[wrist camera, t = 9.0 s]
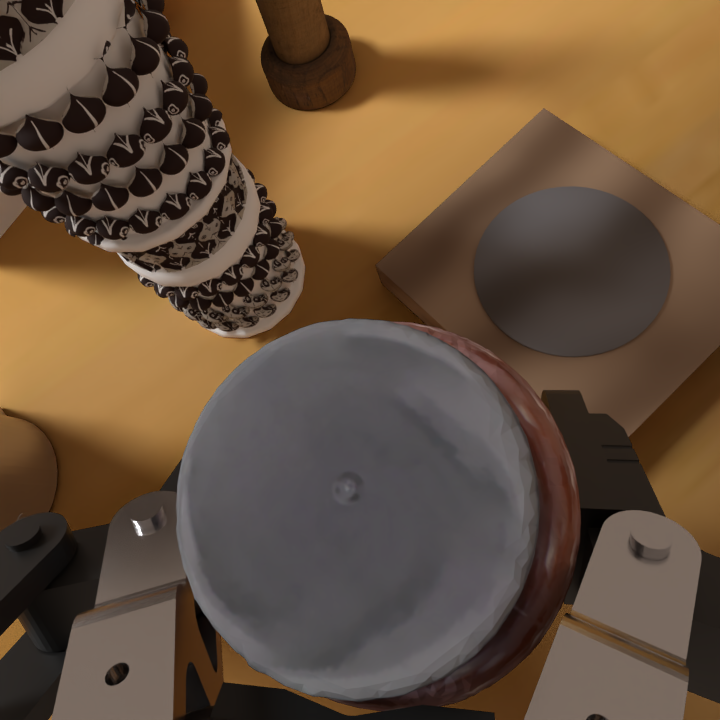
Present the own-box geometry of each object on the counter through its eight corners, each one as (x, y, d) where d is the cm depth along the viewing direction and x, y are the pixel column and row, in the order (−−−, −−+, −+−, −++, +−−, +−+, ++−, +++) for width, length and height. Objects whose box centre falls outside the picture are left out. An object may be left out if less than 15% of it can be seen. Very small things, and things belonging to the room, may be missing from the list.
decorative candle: (340, 260, 34) (66, -317, 10) (248, 371, 33) (-285, 14, 9) (242, 194, 37) (-147, -374, 13) (155, 295, 36) (-436, -126, 12)
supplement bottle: (380, 379, 18) (259, 166, 7) (553, 462, 16) (753, 349, 5) (293, 546, 16) (-10, 600, 6) (468, 653, 15) (497, 1008, 4)
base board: (381, 283, 33) (374, 263, 30) (538, 136, 34) (544, 105, 31) (586, 471, 28) (598, 467, 25) (764, 292, 29) (794, 271, 26)
